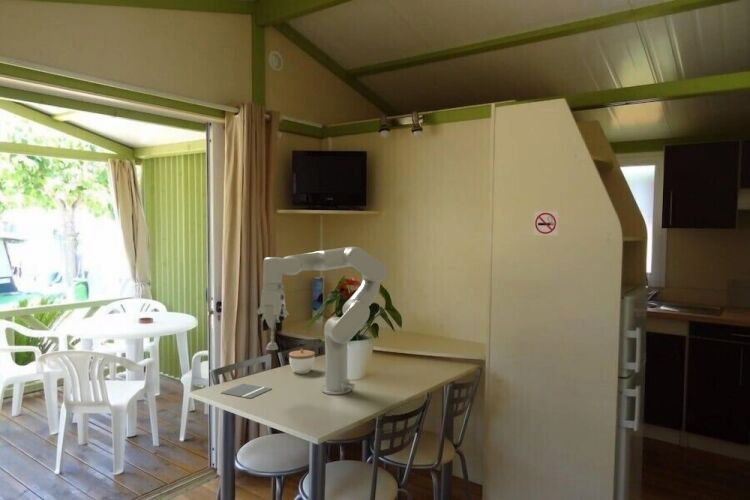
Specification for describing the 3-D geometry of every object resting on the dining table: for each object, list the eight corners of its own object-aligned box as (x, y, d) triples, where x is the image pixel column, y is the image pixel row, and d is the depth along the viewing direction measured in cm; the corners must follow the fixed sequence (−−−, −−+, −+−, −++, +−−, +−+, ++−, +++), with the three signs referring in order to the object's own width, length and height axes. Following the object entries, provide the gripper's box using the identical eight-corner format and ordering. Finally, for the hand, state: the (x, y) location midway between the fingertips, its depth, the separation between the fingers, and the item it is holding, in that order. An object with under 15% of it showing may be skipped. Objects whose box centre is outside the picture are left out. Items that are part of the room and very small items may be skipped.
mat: (271, 389, 218) (271, 388, 218) (250, 398, 206) (250, 397, 206) (242, 384, 225) (242, 383, 225) (220, 393, 213) (220, 392, 213)
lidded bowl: (307, 376, 238) (307, 353, 238) (284, 373, 242) (284, 351, 242) (319, 369, 250) (319, 347, 249) (297, 367, 254) (296, 345, 254)
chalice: (265, 351, 203) (265, 306, 202) (261, 347, 209) (261, 304, 208) (283, 349, 206) (283, 305, 205) (278, 346, 212) (279, 303, 211)
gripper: (295, 287, 206) (295, 331, 207) (261, 285, 214) (260, 327, 214) (284, 289, 200) (284, 334, 200) (249, 286, 207) (249, 330, 207)
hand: (272, 330), depth 207 cm, fingers closed on chalice, 5 cm apart
